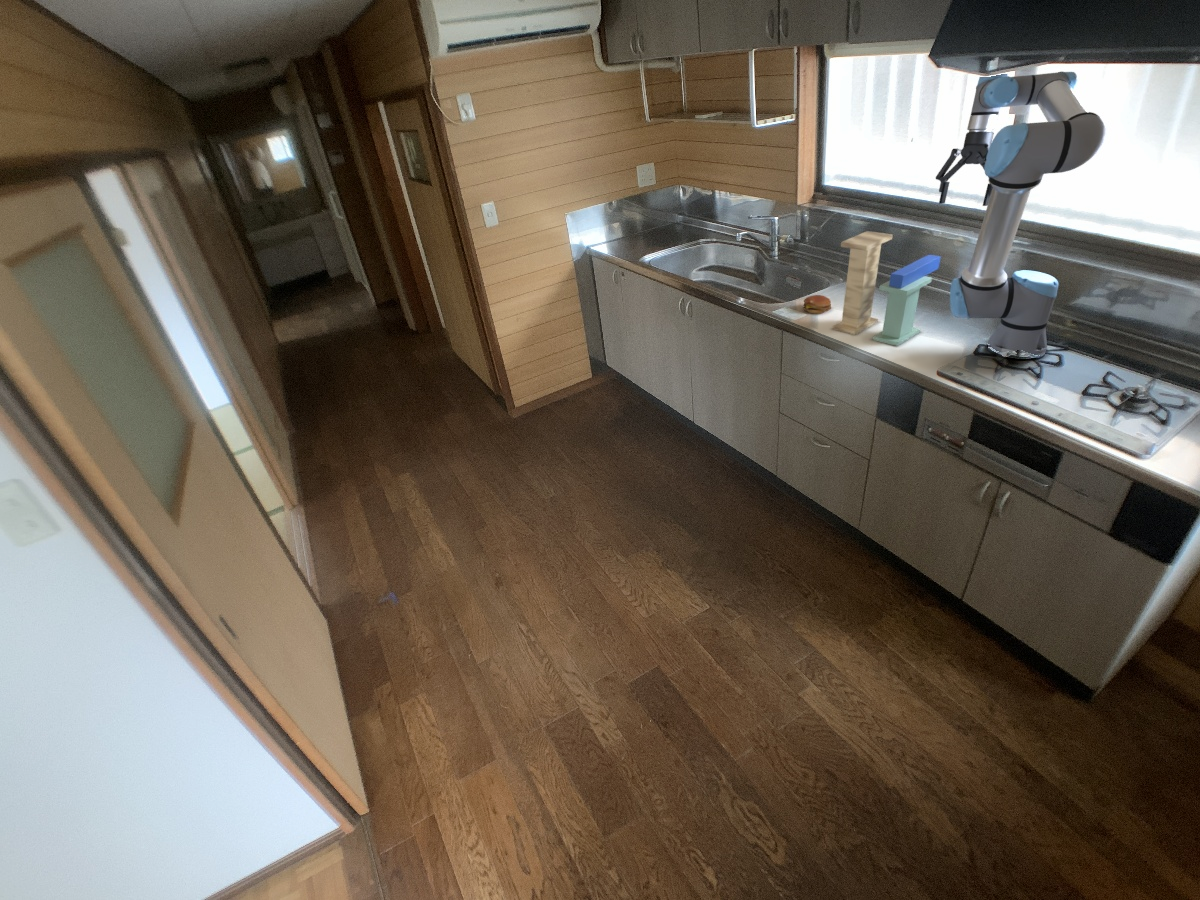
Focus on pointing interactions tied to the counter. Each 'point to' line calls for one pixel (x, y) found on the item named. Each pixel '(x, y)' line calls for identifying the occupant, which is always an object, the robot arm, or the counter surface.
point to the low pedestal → (900, 312)
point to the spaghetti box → (914, 271)
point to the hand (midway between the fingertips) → (963, 204)
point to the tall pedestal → (861, 281)
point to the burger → (817, 304)
